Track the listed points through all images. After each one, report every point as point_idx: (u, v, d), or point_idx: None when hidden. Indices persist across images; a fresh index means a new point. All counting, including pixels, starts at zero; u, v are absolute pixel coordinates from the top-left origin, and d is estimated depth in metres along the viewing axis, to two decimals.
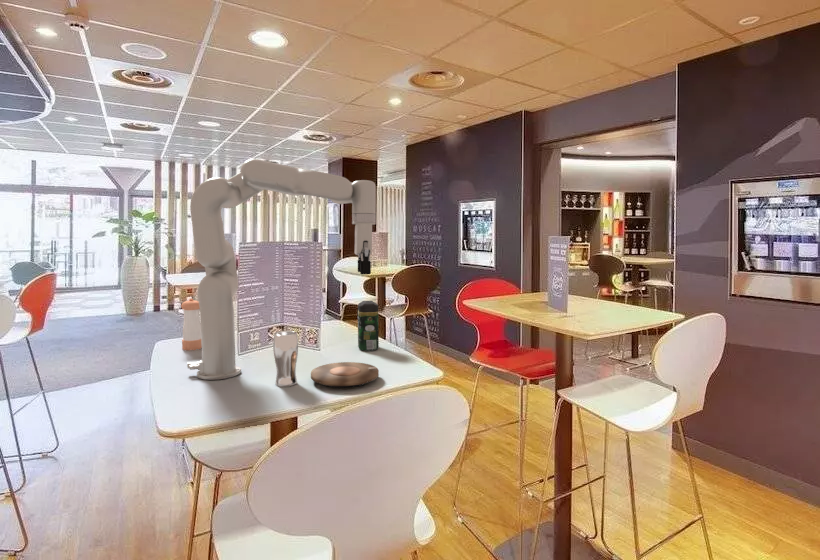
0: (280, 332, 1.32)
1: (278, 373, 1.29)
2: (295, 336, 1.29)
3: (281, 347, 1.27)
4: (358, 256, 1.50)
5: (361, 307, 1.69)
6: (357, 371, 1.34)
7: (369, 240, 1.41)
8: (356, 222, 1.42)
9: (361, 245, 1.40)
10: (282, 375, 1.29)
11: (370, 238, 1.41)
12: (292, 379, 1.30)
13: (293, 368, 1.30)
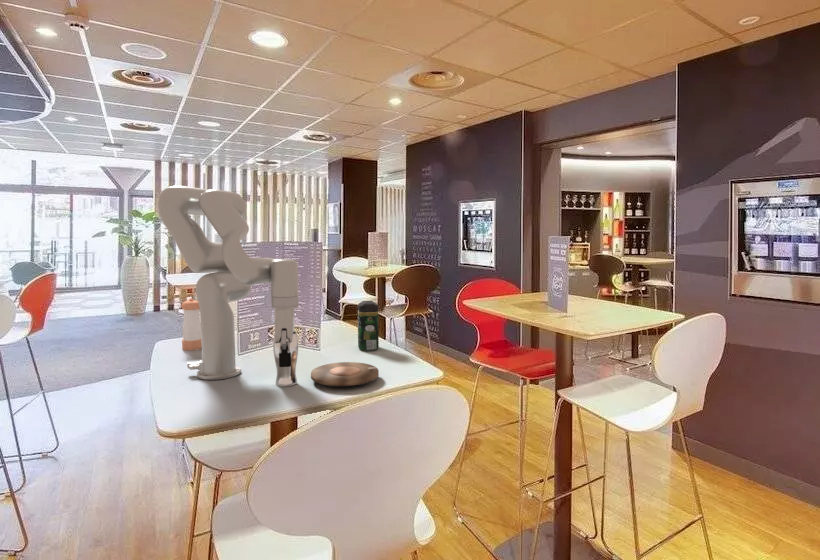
0: None
1: (278, 373, 1.29)
2: (295, 336, 1.29)
3: None
4: None
5: (361, 307, 1.69)
6: (357, 371, 1.34)
7: (288, 327, 1.25)
8: (274, 307, 1.26)
9: (279, 333, 1.25)
10: (282, 375, 1.29)
11: (290, 325, 1.26)
12: (292, 379, 1.30)
13: (293, 368, 1.30)
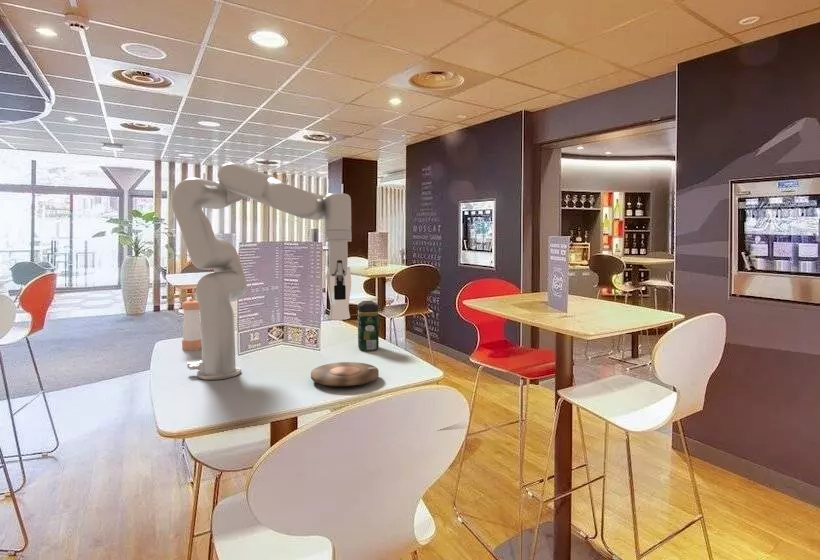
0: None
1: (332, 307, 1.31)
2: (349, 270, 1.31)
3: None
4: None
5: (361, 307, 1.69)
6: (357, 371, 1.34)
7: (343, 259, 1.27)
8: (329, 240, 1.28)
9: (335, 265, 1.26)
10: (336, 308, 1.30)
11: (345, 257, 1.27)
12: (346, 313, 1.31)
13: (347, 302, 1.31)
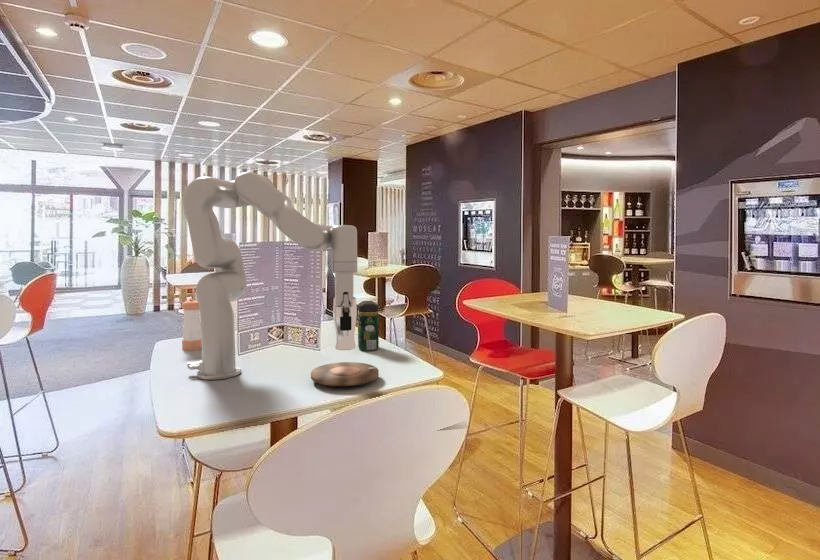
0: None
1: (338, 337, 1.32)
2: (355, 300, 1.32)
3: None
4: None
5: (361, 307, 1.69)
6: (357, 371, 1.34)
7: (350, 291, 1.28)
8: (335, 271, 1.29)
9: (341, 297, 1.27)
10: (342, 339, 1.31)
11: (351, 289, 1.28)
12: (352, 343, 1.32)
13: (352, 332, 1.32)
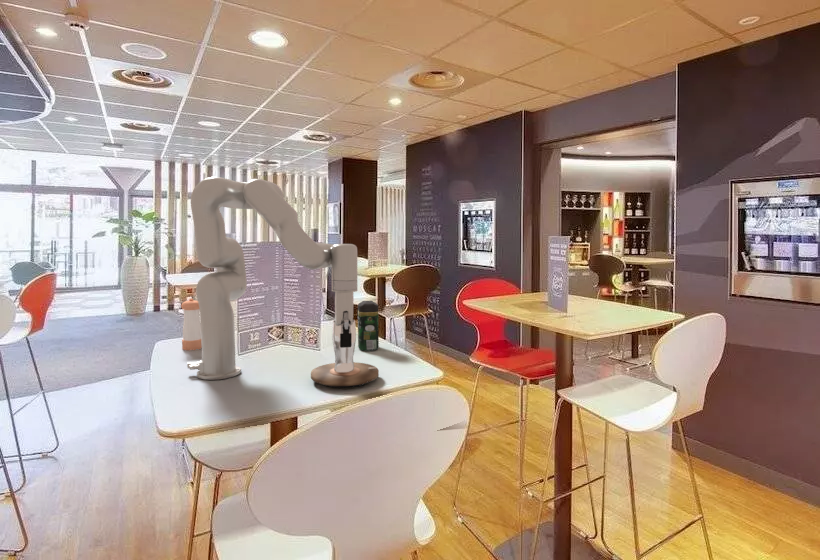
0: None
1: (337, 360, 1.32)
2: (354, 324, 1.32)
3: None
4: None
5: (361, 307, 1.69)
6: (357, 371, 1.34)
7: (350, 310, 1.28)
8: (335, 290, 1.29)
9: (341, 316, 1.28)
10: (341, 362, 1.32)
11: (351, 308, 1.29)
12: (351, 366, 1.33)
13: (352, 355, 1.33)
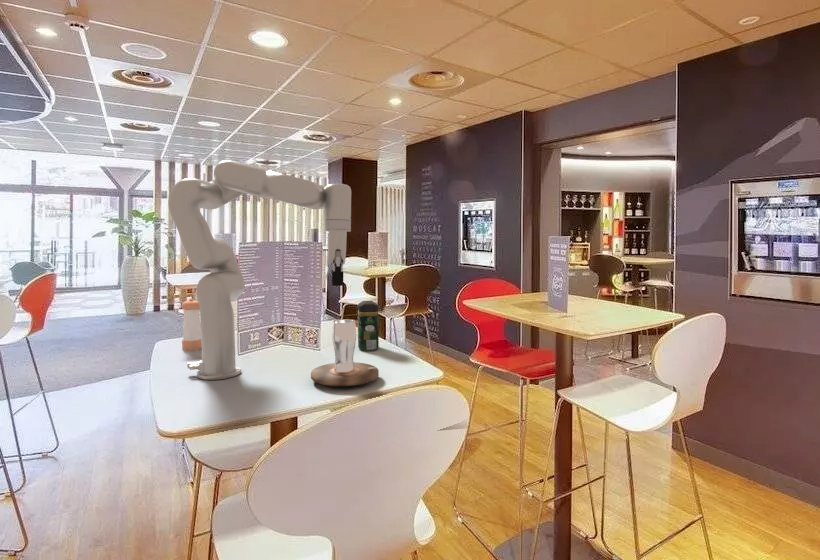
0: (338, 320, 1.35)
1: (337, 360, 1.32)
2: (354, 324, 1.32)
3: (341, 334, 1.30)
4: None
5: (361, 307, 1.69)
6: (357, 371, 1.34)
7: (342, 248, 1.30)
8: (329, 229, 1.31)
9: (333, 254, 1.29)
10: (341, 362, 1.32)
11: (343, 247, 1.30)
12: (351, 366, 1.33)
13: (352, 355, 1.33)
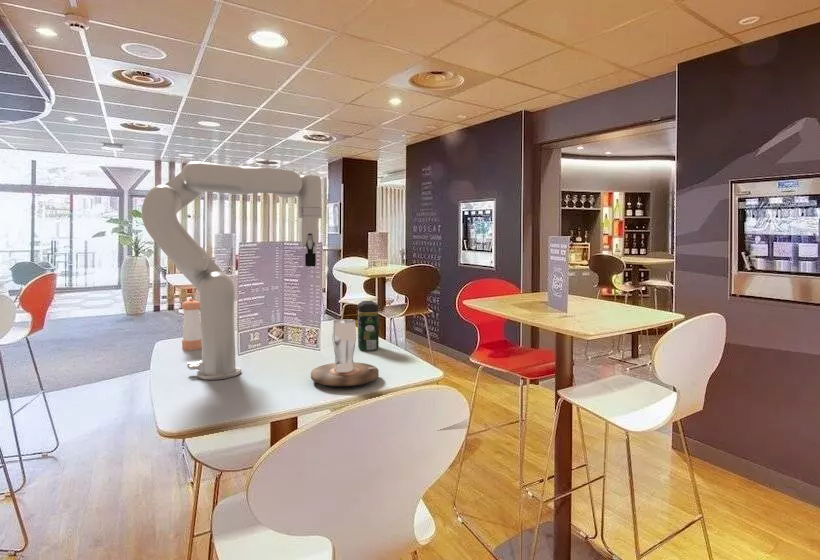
0: (338, 320, 1.35)
1: (337, 360, 1.32)
2: (354, 324, 1.32)
3: (341, 334, 1.30)
4: None
5: (361, 307, 1.69)
6: (357, 371, 1.34)
7: (313, 233, 1.45)
8: (301, 216, 1.46)
9: (306, 238, 1.44)
10: (341, 362, 1.32)
11: (315, 231, 1.45)
12: (351, 366, 1.33)
13: (352, 355, 1.33)
